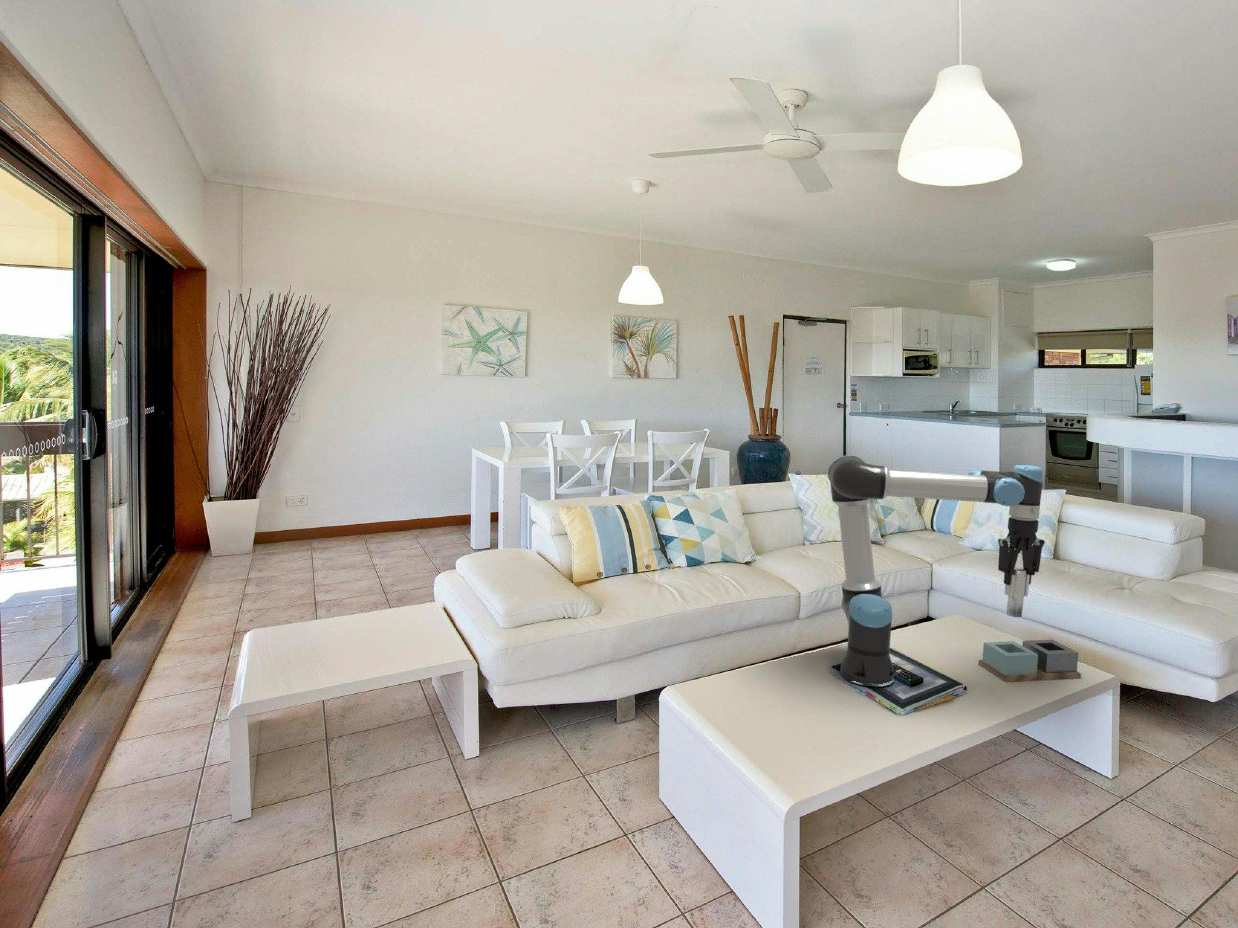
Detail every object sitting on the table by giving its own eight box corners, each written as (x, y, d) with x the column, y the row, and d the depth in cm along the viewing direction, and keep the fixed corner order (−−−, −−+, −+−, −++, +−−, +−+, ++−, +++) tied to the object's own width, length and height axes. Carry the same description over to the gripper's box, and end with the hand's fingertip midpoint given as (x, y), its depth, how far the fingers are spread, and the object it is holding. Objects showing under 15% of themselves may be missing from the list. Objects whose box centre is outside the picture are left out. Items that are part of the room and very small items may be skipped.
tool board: (1005, 681, 189) (1005, 676, 188) (978, 664, 200) (978, 659, 200) (1080, 678, 191) (1080, 673, 191) (1049, 661, 203) (1049, 656, 203)
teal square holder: (1005, 675, 189) (1006, 655, 189) (982, 661, 199) (983, 642, 199) (1036, 673, 191) (1038, 654, 190) (1012, 659, 200) (1013, 641, 200)
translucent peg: (1012, 617, 191) (1017, 571, 189) (1003, 612, 195) (1007, 567, 193) (1025, 617, 191) (1029, 571, 190) (1015, 612, 195) (1019, 567, 194)
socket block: (1045, 673, 191) (1047, 653, 190) (1021, 659, 201) (1022, 640, 200) (1076, 671, 192) (1078, 652, 191) (1050, 657, 202) (1052, 639, 201)
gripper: (1006, 520, 185) (998, 599, 188) (1060, 520, 187) (1051, 598, 190) (988, 515, 192) (981, 591, 195) (1040, 515, 194) (1032, 590, 197)
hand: (1016, 594), depth 192 cm, fingers closed on translucent peg, 4 cm apart
